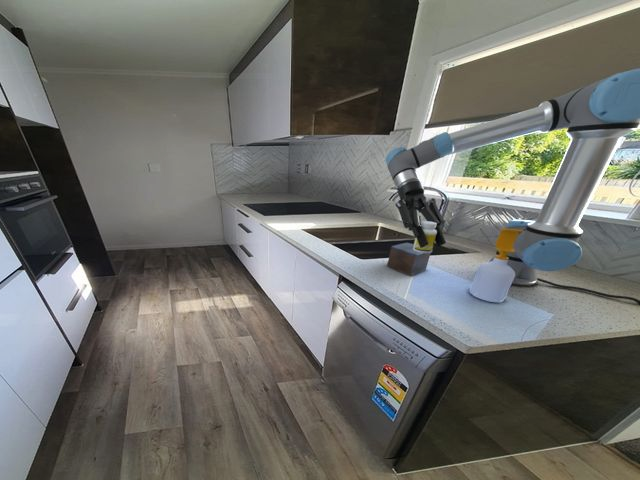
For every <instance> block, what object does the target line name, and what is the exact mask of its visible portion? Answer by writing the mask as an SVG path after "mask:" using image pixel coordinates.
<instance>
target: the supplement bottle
mask: <svg viewBox="0 0 640 480" xmlns="http://www.w3.org/2000/svg"><path fill="white" fill-rule="evenodd" d="M420 224H421V225H420V226H422V229H423V231H424V234H425V236H426V239H427V241H428V245H426V246H424V247H423V248H420V245H419V243H418V240H417V238H415V237H414V242H413V244H414V245H413V250H414V251H417V252H420V253H430V252H431V251H432V250H433V248H434V244H435V238H436V234H437V231H436V230H435V228H436V225H437V223H435V222H430V221H427V220H423V221H422V222H421V223H420ZM431 253H432V252H431Z"/></svg>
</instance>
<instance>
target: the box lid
mask: <svg viewBox="0 0 640 480" xmlns="http://www.w3.org/2000/svg"><path fill="white" fill-rule="evenodd" d="M413 245H414V243H410V242H403V243H399V244H395V245H391V247H390V249H391V248H394V249H397V250H400V251H403V252H406V253H409V254H411V255H414V256H419V255H423V254H426V253H420V252H417V251H414V250H413ZM433 252H434V251H433V249H432V251H431V253H433Z"/></svg>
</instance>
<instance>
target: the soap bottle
mask: <svg viewBox="0 0 640 480" xmlns="http://www.w3.org/2000/svg"><path fill="white" fill-rule="evenodd" d="M519 232H524V230H518V229H508V228H502V229H500V232H499V234H498V236H497V239H496V242H495V246H494V247H495V249H496V251H497V250H498V252H500V254H499V255H495V254H494V256H495V257H494V256H493V257H494V260H493V261H492V262H489V261H487V262H482V263H480V265H479V266H477V269H476V272H475V275H474V277H473V279H472V282H471V285H470V288H469V293H470V294H471V295H472V296H473V297H475V298H477V299H480V300H482V301H485V302H490V303H502V302H504V300H505V299H506V297H507V295H508V292H509V290H510V288H511V285H513V284H512V281H513V279H514V277H515V272H514V270H513V269H512V268H511V267H509V266H508V265H507V262H508V259H509V258H508V257H506V255H507V254H510V252H512V253H515V252H516V251H515V250H514V249H513V244H514V242H515V240H516V237H517V235H518V233H519Z"/></svg>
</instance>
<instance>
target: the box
mask: <svg viewBox="0 0 640 480" xmlns="http://www.w3.org/2000/svg"><path fill="white" fill-rule="evenodd" d="M431 254H432V252H430V253H426V254H423V255H419V256H414V255H411V254H409V253H406V252H403V251H400V250H397V249H394V248H391V247H390V251H389V255H388V261H387V264H386V267H388V268H390V269H393V270H395V271H398V272H400V273H402V274H404V275H408V276H410V277H411V276H414V275H417V274H419V273H423V272H425V271H427V268H428V265H429V260H430V257H431Z"/></svg>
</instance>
